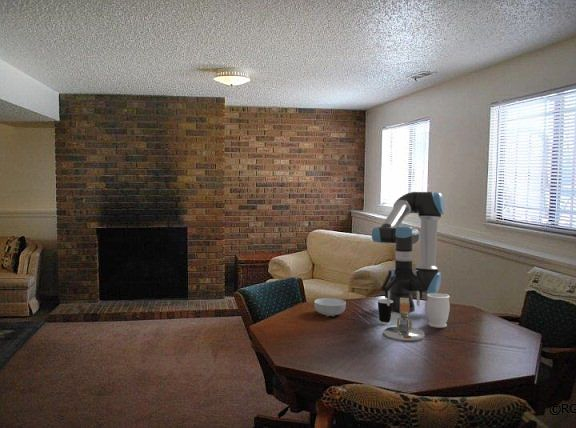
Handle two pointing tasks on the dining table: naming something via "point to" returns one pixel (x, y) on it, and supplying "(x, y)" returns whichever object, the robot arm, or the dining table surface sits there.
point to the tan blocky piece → (404, 311)
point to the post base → (399, 335)
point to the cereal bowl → (329, 306)
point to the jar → (438, 309)
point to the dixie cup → (384, 311)
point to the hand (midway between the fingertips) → (403, 305)
